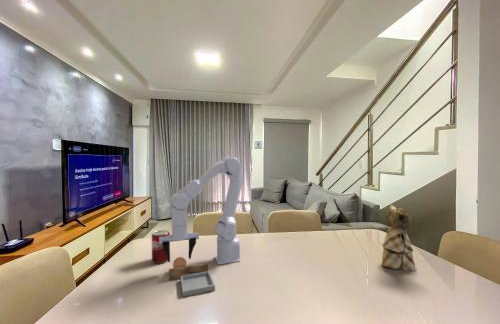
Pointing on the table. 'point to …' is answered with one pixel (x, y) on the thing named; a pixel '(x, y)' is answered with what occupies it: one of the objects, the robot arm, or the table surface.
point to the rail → (187, 270)
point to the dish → (197, 283)
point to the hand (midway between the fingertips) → (179, 259)
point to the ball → (179, 262)
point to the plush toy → (398, 241)
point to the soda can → (159, 247)
